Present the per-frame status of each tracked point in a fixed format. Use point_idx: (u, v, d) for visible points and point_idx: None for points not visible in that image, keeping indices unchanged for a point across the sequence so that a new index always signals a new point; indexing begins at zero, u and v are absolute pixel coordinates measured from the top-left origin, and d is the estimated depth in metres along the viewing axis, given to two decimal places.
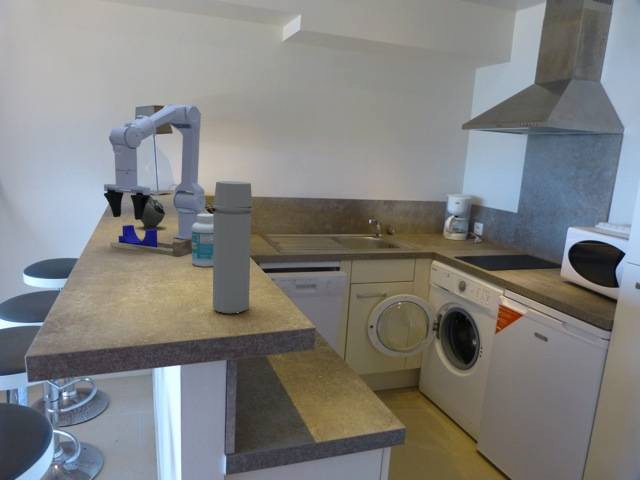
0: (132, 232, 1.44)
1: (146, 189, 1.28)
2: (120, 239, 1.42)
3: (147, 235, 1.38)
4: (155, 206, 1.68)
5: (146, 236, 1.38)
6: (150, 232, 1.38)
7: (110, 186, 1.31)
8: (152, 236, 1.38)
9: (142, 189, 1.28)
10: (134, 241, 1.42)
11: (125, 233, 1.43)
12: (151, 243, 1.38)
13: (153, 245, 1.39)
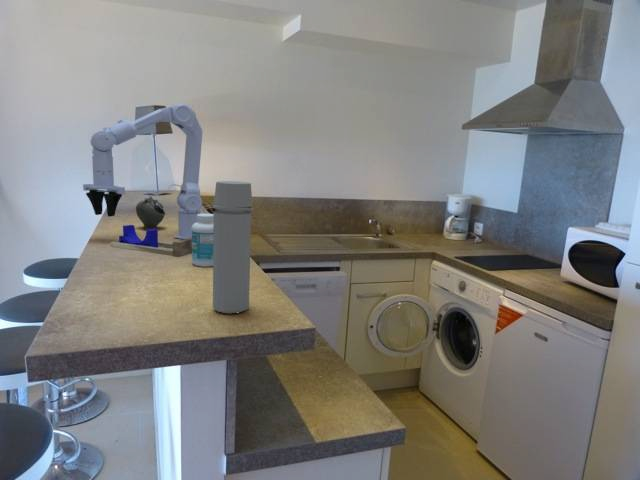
0: (133, 232, 1.44)
1: (121, 189, 1.40)
2: (121, 239, 1.42)
3: (148, 235, 1.38)
4: (155, 206, 1.68)
5: (147, 236, 1.38)
6: (151, 232, 1.38)
7: (88, 186, 1.43)
8: (153, 236, 1.39)
9: (117, 189, 1.40)
10: (135, 241, 1.42)
11: (126, 233, 1.43)
12: (152, 243, 1.39)
13: (154, 244, 1.39)
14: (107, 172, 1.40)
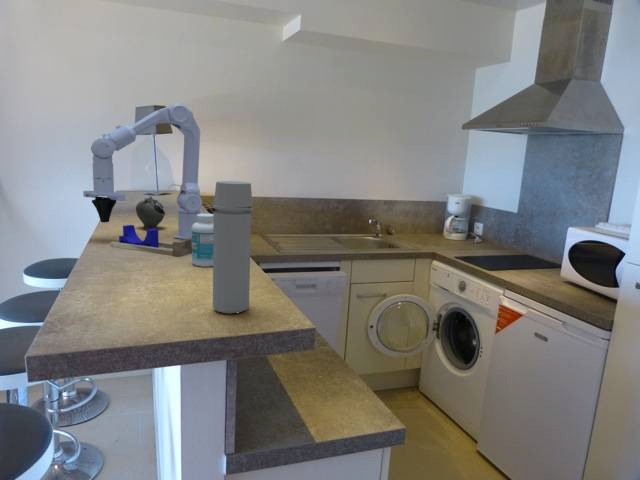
0: (133, 232, 1.44)
1: (121, 196, 1.40)
2: (121, 239, 1.42)
3: (148, 235, 1.38)
4: (155, 206, 1.68)
5: (147, 236, 1.38)
6: (151, 232, 1.38)
7: (89, 193, 1.43)
8: (154, 235, 1.39)
9: (117, 196, 1.40)
10: (135, 241, 1.42)
11: (126, 233, 1.43)
12: (152, 243, 1.39)
13: (155, 244, 1.40)
14: (107, 179, 1.41)
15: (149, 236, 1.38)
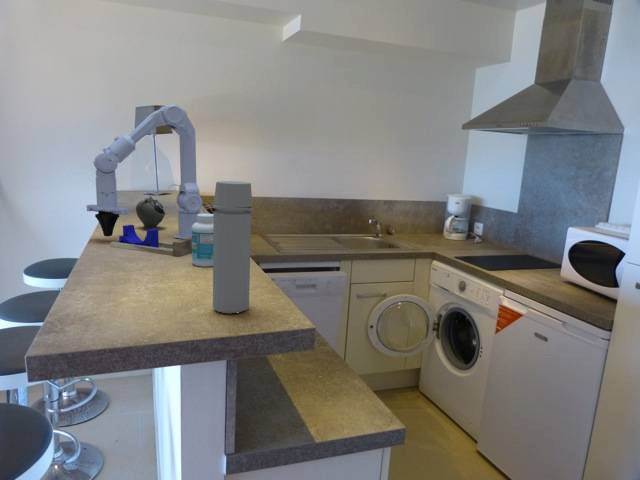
0: (132, 232, 1.44)
1: (124, 210, 1.41)
2: (121, 239, 1.42)
3: (149, 235, 1.38)
4: (155, 206, 1.68)
5: (147, 236, 1.38)
6: (151, 232, 1.38)
7: (92, 207, 1.44)
8: (154, 235, 1.39)
9: (120, 210, 1.41)
10: (135, 241, 1.42)
11: (126, 233, 1.43)
12: (153, 243, 1.39)
13: (155, 244, 1.40)
14: (110, 193, 1.41)
15: (149, 236, 1.38)
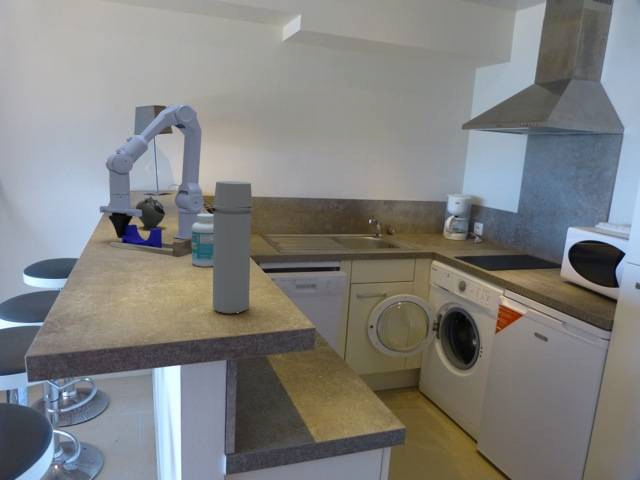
0: (135, 232, 1.44)
1: (138, 211, 1.39)
2: (123, 239, 1.42)
3: (152, 234, 1.38)
4: (155, 206, 1.68)
5: (151, 235, 1.38)
6: (155, 231, 1.38)
7: (105, 208, 1.42)
8: (157, 235, 1.39)
9: (134, 211, 1.39)
10: (138, 240, 1.42)
11: (128, 233, 1.42)
12: (156, 242, 1.39)
13: (158, 244, 1.40)
14: (124, 195, 1.39)
15: (153, 235, 1.38)
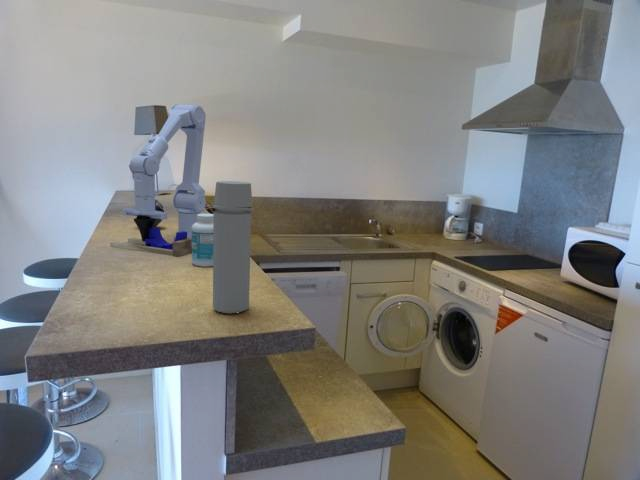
0: (159, 234, 1.41)
1: (163, 214, 1.36)
2: (147, 242, 1.39)
3: (178, 237, 1.35)
4: (155, 206, 1.68)
5: (177, 238, 1.36)
6: (181, 234, 1.35)
7: (129, 211, 1.39)
8: (183, 238, 1.36)
9: (160, 214, 1.36)
10: (162, 244, 1.39)
11: (152, 236, 1.39)
12: None
13: None
14: (149, 197, 1.36)
15: (179, 239, 1.35)
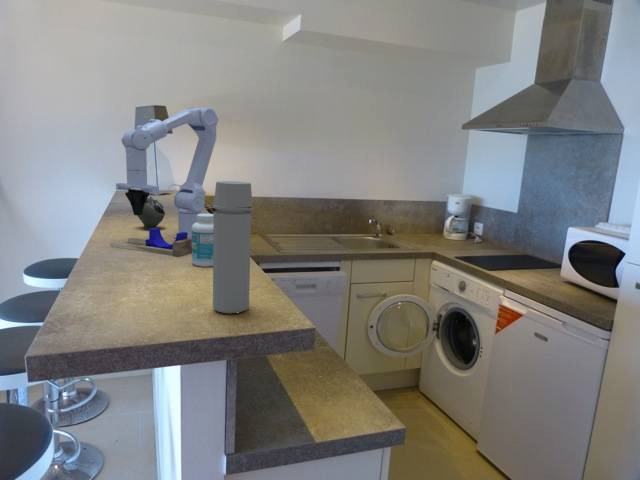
0: (159, 235, 1.41)
1: (155, 188, 1.38)
2: (147, 243, 1.39)
3: (178, 238, 1.35)
4: (155, 206, 1.68)
5: (177, 239, 1.36)
6: (181, 235, 1.36)
7: (122, 185, 1.41)
8: None
9: (151, 188, 1.38)
10: (162, 244, 1.39)
11: (152, 236, 1.40)
12: None
13: None
14: (141, 171, 1.38)
15: (179, 239, 1.35)
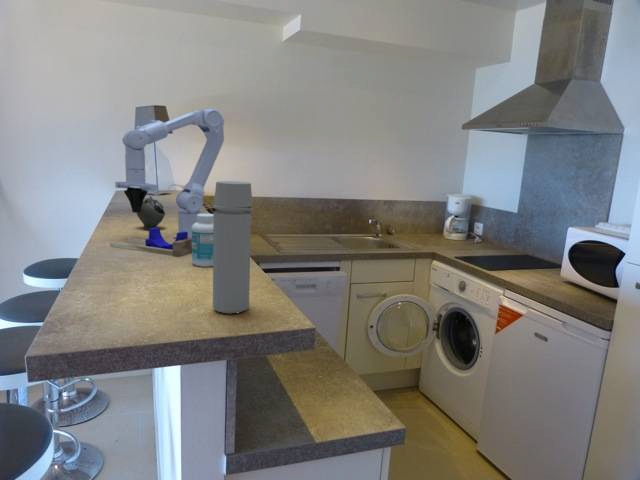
0: (158, 235, 1.41)
1: (153, 186, 1.43)
2: (147, 242, 1.39)
3: (179, 237, 1.36)
4: (155, 206, 1.68)
5: (178, 239, 1.36)
6: (182, 235, 1.36)
7: (121, 183, 1.46)
8: (184, 238, 1.37)
9: (149, 186, 1.43)
10: (162, 244, 1.39)
11: (152, 236, 1.40)
12: None
13: None
14: (140, 170, 1.43)
15: (179, 239, 1.36)
